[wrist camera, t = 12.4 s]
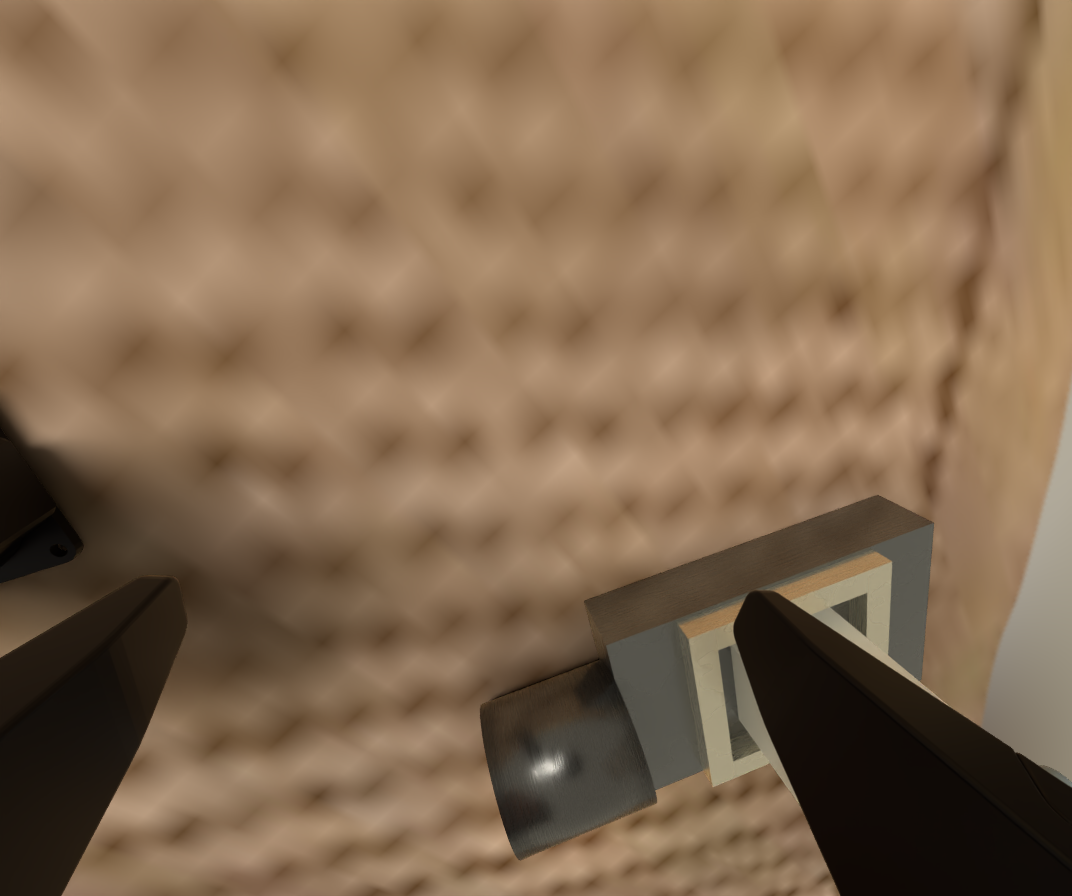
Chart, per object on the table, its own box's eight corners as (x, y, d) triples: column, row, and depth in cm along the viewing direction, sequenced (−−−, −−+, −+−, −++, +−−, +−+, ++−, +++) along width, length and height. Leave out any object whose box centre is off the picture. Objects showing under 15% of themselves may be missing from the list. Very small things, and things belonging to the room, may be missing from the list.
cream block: (738, 719, 24) (934, 996, 15) (729, 643, 22) (948, 907, 13) (863, 668, 25) (1123, 902, 16) (866, 591, 23) (1161, 805, 14)
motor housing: (517, 783, 27) (543, 917, 21) (461, 645, 23) (475, 765, 17) (873, 640, 29) (979, 728, 24) (877, 494, 25) (1006, 558, 20)
